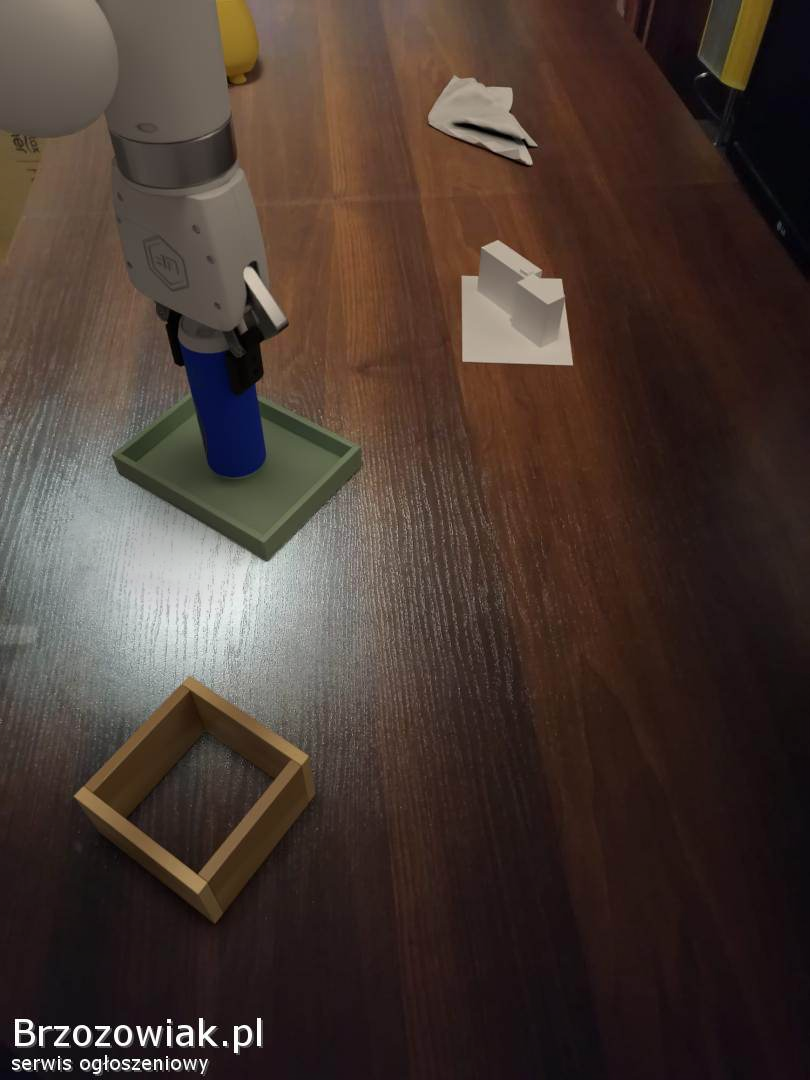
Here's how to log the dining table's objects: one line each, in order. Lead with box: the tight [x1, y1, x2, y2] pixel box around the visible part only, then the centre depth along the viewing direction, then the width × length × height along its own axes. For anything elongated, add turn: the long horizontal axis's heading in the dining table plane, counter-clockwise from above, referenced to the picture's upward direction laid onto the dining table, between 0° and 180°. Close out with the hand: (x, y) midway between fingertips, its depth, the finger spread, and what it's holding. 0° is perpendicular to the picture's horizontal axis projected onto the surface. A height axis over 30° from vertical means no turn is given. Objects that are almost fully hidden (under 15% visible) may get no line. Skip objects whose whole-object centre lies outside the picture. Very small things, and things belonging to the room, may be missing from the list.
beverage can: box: [178, 315, 266, 479], centre depth 70 cm, size 5×5×15 cm
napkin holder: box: [461, 239, 574, 366], centre depth 89 cm, size 15×11×6 cm
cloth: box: [427, 74, 539, 167], centre depth 118 cm, size 26×14×2 cm, turn 6°
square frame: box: [73, 675, 316, 925], centre depth 55 cm, size 10×10×6 cm
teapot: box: [216, 0, 260, 85], centre depth 123 cm, size 13×20×12 cm
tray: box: [111, 391, 363, 562], centre depth 76 cm, size 17×13×2 cm
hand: (219, 369), depth 68 cm, fingers closed on beverage can, 5 cm apart
